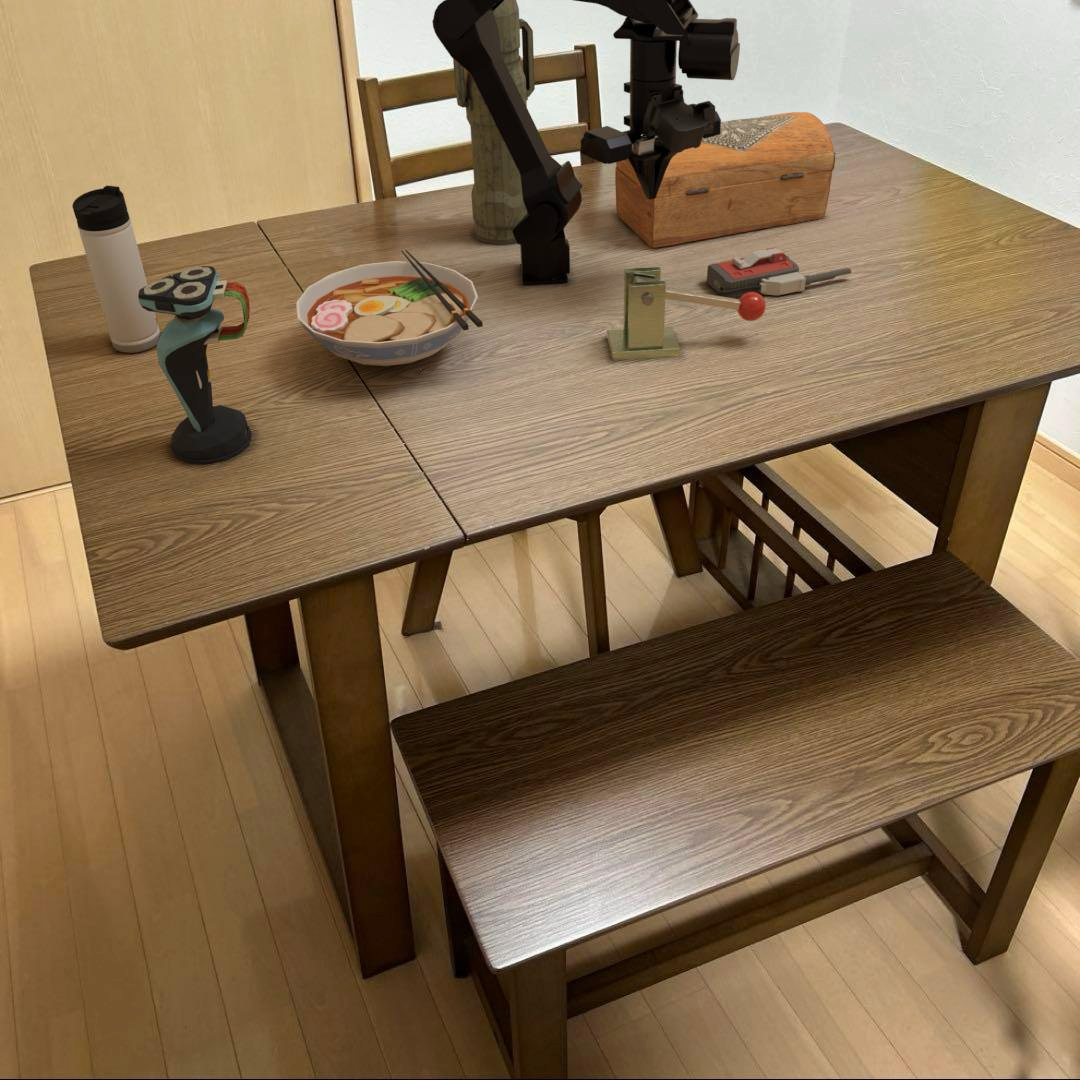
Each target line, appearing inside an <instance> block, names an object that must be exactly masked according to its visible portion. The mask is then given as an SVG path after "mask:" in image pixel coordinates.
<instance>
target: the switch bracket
mask: <svg viewBox="0 0 1080 1080" xmlns="http://www.w3.org/2000/svg"><path fill="white" fill-rule="evenodd" d="M661 271H662V270H661V267H660V266H653V267H637V268H634V267H633V268H624V272H623V273H624V277H623V278H624V279H623V323H622V325H623V326H622V327H623V328H622V329H609V330H606V339H607V343H608V348H609V352H610V356H611V359H612V361H624V360H640V359H654V358H655V359H659V358H673V357H680V356H681V355H680V353H681V348H680V345H679V342H678V339H677V337H676V334H675V331H674V328H673V326H665V312H666V299H665V294H666V288H667V283H666V281H665V280H661V274H662V273H661ZM635 276H639V277H646V278H652V279H656V280H657V281H654V282H637V283H633V281H634V277H635Z"/></svg>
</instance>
